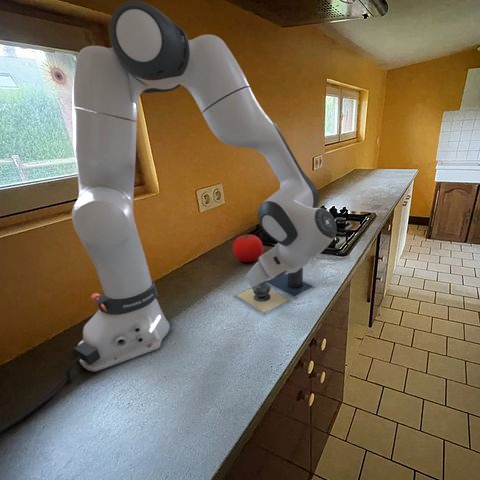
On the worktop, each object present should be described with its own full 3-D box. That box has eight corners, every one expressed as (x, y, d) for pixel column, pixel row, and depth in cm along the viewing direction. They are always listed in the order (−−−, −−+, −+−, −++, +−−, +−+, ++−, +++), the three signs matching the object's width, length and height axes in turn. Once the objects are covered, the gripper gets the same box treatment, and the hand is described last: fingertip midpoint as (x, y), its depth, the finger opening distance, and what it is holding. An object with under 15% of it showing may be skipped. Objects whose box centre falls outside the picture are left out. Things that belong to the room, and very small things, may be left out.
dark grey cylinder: (295, 290, 98) (295, 262, 93) (284, 284, 101) (284, 257, 97) (305, 284, 101) (306, 257, 96) (295, 279, 104) (295, 253, 99)
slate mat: (294, 297, 95) (294, 296, 94) (265, 282, 104) (265, 281, 104) (313, 287, 100) (313, 286, 100) (284, 274, 109) (284, 272, 109)
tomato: (254, 252, 128) (253, 228, 123) (269, 261, 119) (267, 236, 115) (229, 259, 123) (226, 234, 118) (242, 269, 114) (239, 243, 109)
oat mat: (264, 314, 87) (264, 312, 87) (236, 296, 97) (235, 295, 96) (288, 300, 93) (288, 299, 93) (259, 285, 103) (259, 284, 102)
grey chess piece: (269, 303, 92) (267, 267, 86) (250, 301, 93) (247, 266, 87) (273, 293, 97) (271, 259, 91) (255, 291, 98) (252, 258, 92)
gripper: (309, 234, 85) (284, 256, 96) (255, 257, 73) (234, 280, 84) (321, 252, 85) (295, 273, 95) (269, 279, 72) (246, 299, 83)
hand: (266, 276), depth 89 cm, fingers open, 8 cm apart
